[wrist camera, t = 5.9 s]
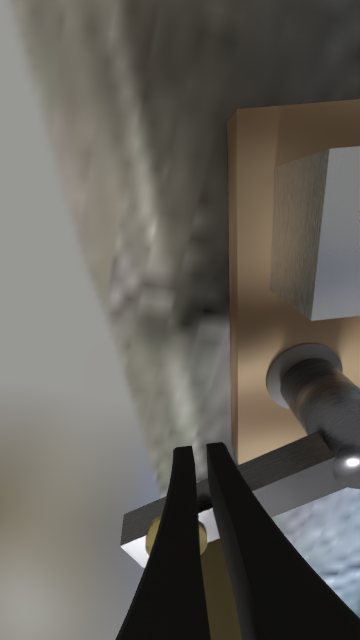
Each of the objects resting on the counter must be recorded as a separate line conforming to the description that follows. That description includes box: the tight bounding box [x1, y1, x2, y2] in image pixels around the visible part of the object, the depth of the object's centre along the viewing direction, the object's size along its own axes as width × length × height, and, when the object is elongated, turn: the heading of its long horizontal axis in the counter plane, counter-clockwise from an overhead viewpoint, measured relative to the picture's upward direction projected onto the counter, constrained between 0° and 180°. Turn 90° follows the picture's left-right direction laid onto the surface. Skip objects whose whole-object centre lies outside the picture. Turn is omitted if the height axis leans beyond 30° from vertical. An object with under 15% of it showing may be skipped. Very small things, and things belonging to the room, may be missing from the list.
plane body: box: [227, 99, 360, 464], centre depth 14 cm, size 18×7×2 cm, turn 5°
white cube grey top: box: [270, 146, 360, 321], centre depth 10 cm, size 5×4×4 cm
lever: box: [120, 358, 360, 568], centre depth 12 cm, size 12×3×5 cm, turn 118°
